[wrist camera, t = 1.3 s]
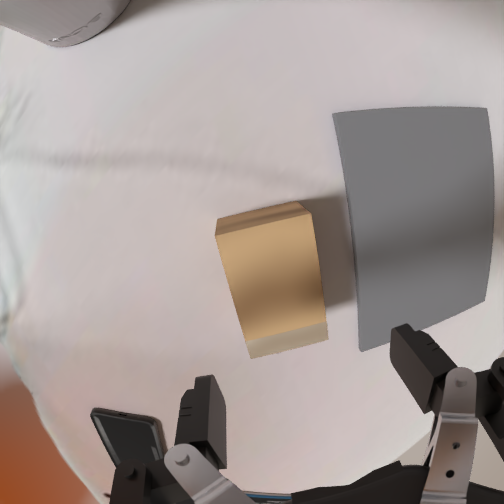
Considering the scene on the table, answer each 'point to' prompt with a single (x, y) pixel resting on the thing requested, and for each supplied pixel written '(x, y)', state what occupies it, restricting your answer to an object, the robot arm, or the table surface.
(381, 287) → the mat
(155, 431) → the phone
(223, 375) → the table surface
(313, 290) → the block
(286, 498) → the sketchbook
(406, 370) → the robot arm
